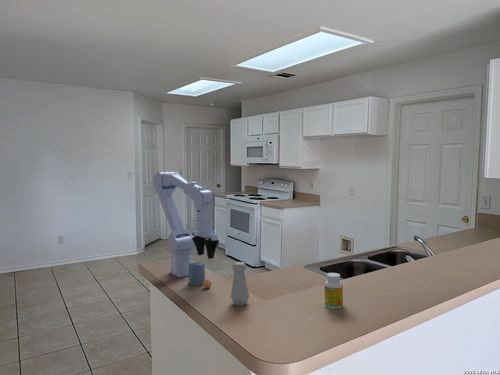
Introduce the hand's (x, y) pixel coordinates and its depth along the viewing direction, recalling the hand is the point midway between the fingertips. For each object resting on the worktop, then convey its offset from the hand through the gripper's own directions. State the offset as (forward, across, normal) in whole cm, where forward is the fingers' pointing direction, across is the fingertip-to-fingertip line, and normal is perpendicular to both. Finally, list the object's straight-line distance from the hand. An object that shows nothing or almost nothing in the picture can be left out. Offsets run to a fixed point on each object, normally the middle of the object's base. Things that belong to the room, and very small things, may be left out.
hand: (205, 256), depth 135 cm
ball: (+8, +8, -4) cm, 12 cm away
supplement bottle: (+10, +48, +17) cm, 52 cm away
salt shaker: (+10, +28, -4) cm, 30 cm away
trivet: (+9, +1, -4) cm, 10 cm away
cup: (+9, +1, -4) cm, 10 cm away
